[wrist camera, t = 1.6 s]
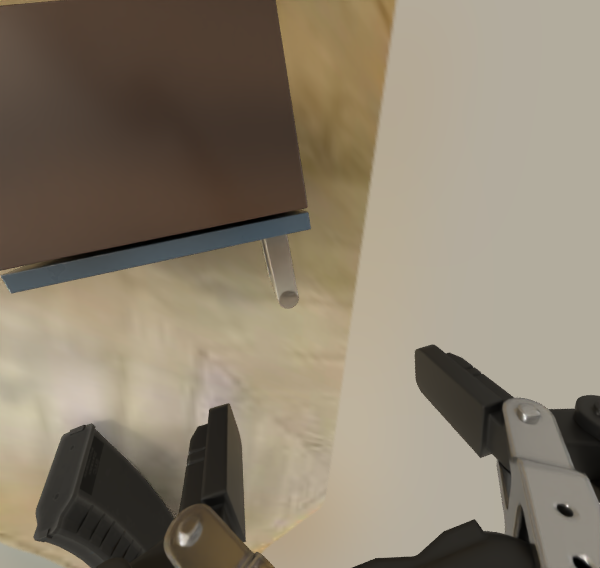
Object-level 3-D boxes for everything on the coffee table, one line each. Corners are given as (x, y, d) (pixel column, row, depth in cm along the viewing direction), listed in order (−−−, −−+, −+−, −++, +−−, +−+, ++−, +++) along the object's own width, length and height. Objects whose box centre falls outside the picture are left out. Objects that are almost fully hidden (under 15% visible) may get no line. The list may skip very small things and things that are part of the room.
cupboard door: (286, 257, 32) (323, 307, 19) (131, 292, 30) (57, 376, 17) (275, 198, 30) (308, 212, 17) (106, 231, 27) (-1, 275, 15)
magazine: (-7, 490, 24) (139, 783, 26) (35, 473, 24) (175, 765, 27) (106, 396, 41) (188, 581, 43) (130, 387, 41) (209, 571, 44)
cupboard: (274, 195, 30) (308, 207, 17) (106, 228, 27) (-5, 271, 14) (251, 79, 26) (273, -20, 13) (55, 106, 24) (-153, 17, 11)
